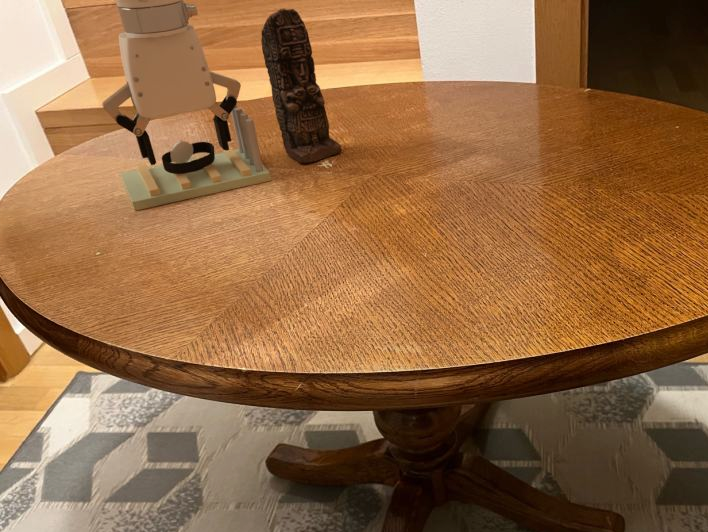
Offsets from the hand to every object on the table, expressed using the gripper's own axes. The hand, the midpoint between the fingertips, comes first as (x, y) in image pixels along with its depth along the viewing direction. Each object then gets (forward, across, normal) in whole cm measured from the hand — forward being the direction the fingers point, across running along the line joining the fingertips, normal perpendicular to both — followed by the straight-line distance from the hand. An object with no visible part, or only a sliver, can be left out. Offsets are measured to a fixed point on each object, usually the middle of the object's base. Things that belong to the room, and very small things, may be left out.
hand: (188, 154), depth 99 cm
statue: (+4, -17, -1) cm, 18 cm away
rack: (+4, 0, 0) cm, 4 cm away
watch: (+2, 0, 0) cm, 2 cm away
